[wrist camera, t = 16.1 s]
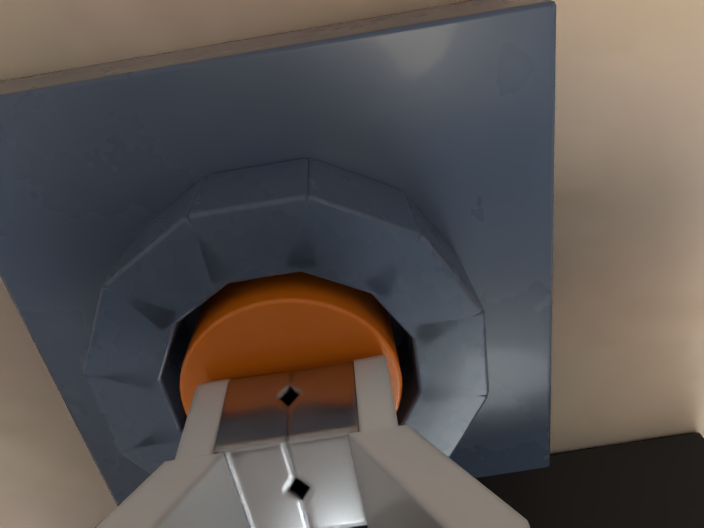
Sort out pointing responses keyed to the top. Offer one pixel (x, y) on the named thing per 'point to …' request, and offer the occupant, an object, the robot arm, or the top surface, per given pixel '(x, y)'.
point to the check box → (295, 216)
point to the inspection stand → (612, 486)
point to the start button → (286, 331)
